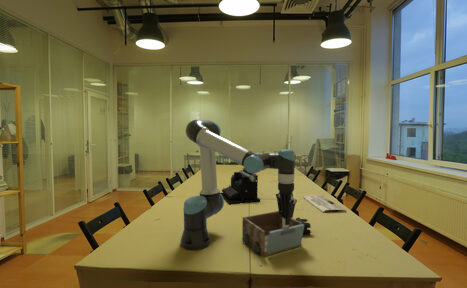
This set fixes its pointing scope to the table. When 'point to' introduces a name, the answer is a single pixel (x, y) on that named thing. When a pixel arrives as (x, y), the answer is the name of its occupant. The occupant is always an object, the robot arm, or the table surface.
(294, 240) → the panel
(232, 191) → the typewriter
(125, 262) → the table surface
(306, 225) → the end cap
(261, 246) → the box
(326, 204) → the newspaper
